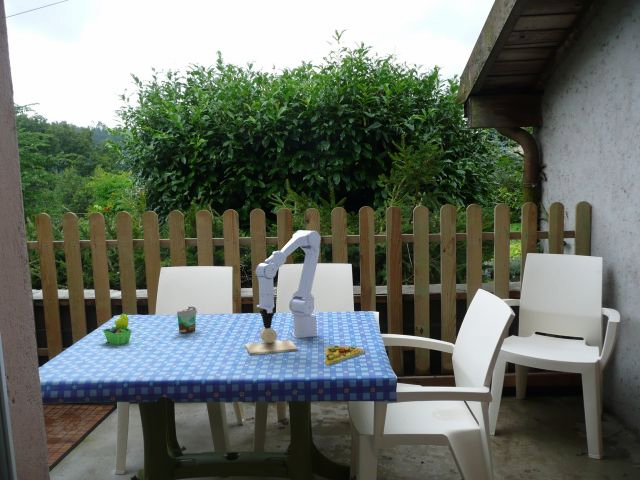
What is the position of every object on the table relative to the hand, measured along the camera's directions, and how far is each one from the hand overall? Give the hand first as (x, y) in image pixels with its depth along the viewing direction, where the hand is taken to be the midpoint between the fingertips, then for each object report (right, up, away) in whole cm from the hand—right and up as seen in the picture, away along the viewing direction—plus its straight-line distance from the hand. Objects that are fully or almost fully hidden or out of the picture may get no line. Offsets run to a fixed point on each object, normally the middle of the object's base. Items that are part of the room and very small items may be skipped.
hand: (267, 327), depth 222 cm
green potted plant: (-62, -8, +11) cm, 64 cm away
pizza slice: (+27, -8, -20) cm, 35 cm away
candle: (-1, -3, +3) cm, 5 cm away
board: (+2, -7, -5) cm, 9 cm away
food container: (-36, -6, +26) cm, 45 cm away
